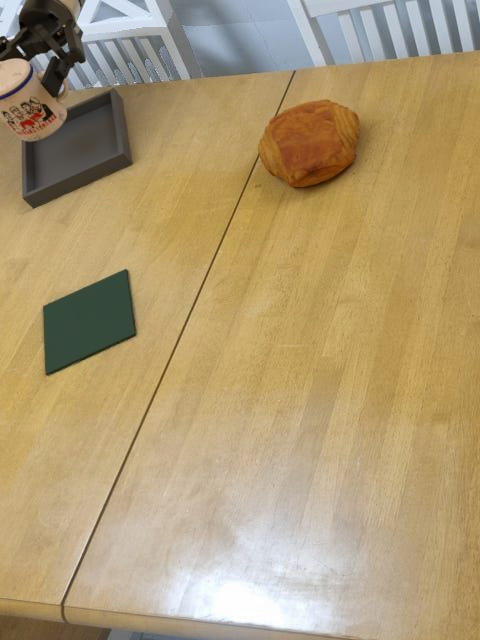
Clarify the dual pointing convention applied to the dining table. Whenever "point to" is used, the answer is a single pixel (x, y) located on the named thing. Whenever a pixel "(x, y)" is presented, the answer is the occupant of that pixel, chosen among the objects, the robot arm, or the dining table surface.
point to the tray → (77, 150)
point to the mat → (88, 321)
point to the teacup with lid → (29, 101)
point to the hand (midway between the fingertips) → (12, 99)
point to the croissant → (310, 142)
